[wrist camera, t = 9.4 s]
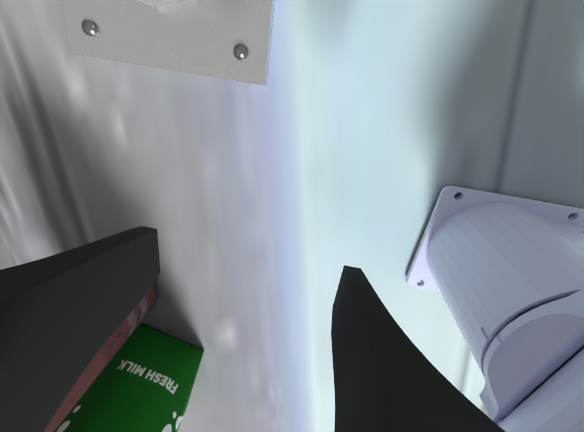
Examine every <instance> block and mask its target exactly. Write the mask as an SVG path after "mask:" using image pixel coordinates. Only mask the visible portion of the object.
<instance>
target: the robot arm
mask: <svg viewBox="0 0 584 432" xmlns="http://www.w3.org/2000/svg"><path fill="white" fill-rule="evenodd" d="M458 192H461V195H460V196H459V197H457V198H454V195H455V194H456V193H458ZM572 213H573V215H572V216H571V217H569V215H570V214H572ZM568 217H569V218H568ZM159 273H160V264H159V250H158V237H157V229H154V228H148V227H143V226H141V227H137V228H133V229H130V230H127V231H124V232H121V233H118V234H115V235H112V236H109V237H107V238H104V239H101V240H98V241H95V242H92V243H90V244H87V245H84V246H81V247H78V248H75V249H72V250H69V251H65V252H62V253H59V254H56V255H53V256H50V257H47V258H43V259H40V260H37V261H33V262H29V263H26V264H22V265H18V266H14V267H10V268H6V269H2V270H0V432H44V430H45V429H46V427H47V426H48V424H49V422H50V421H51V419H52V417H53V416H54V414H55V413H56V411H57V410H58V408H59V407H60V405H61V404H62V402H63V401H64V399H65V398H66V396H67V395H68V393H69V392H70V390H71V389H72V387H73V386H74V384H75V383H76V381H77V380H78V379H79V377H80V376H81V374H82V373H83V371H84V370H85V369H86V367H87V366H88V364H89V363H90V362H91V360H92V359H93V357H94V356H95V355H96V353H97V352H98V351H99V350H100V348H101V347H102V346H103V345H104V343H105V342H106V341H107V340H108V339H109V338H110V336H111V335H112V334H113V333H114V332H115V331H116V329H117V328H118V327H119V326H120V325H121V324H122V322H123V321H124V320H125V319H126V318H127V317H128V315H129V314H130V313H131V312H132V311H133V309H134V308H135V307H136V306H137V305H138V304H139V302H140V301H141V300H142V299H143V298H144V296H145V295H146V294H147V292H148V291H149V289H150V288H151V286H152V285H153V283H154V282H155V280H156V278H157V277H158V275H159ZM420 280H422V282H420V283H418V281H420ZM406 282H407V284H408V285H409V286H411V287H415V288H420V289H426V290H431V291H436V292H441V294H442V296H443V297H444V299H445V301H446V303H447V305H448V307H449V309H450V311H451V313H452V315H453V317H454V319H455V321H456V323H457V325H458V327H459V329H460V331H461V333H462V334H463V336H464V338H465V340H466V342H467V344H468V346H469V348H470V350H471V352H472V354H473V356H474V358H475V360H476V362H477V364H478V366H479V368H480V370H481V371H482V373H483V375H484V377H485V387H484V389H483V391H482V392H481V393H480V395H479V396H480V398H481V400H482V402H483V404H484V407H485V409H486V411H487V413H488V415H489V417H490V418H489V417H488V416H487V415H485V414H484V413H483V412H482V411H481V410H480V409H478V408H477V407H476V406H475V405H474V404H473V403H472V402H471V401H469V400H468V399H467V398H466V397H465V396H464V395H463V394H462V393H461V392H460V391H458V390H457V389H456V388H455V387H454V386H453V385H452V384H451V383H450V382H449V381H448V380H447V379H446V378H445V377H444V376H443V375H442V374H441V373H440V372H439V371H438V370H437V369H436V368H435V367H434V366H433V365H432V364H431V363H430V362H429V361H428V360H427V358H426V357H425V356H424V355H423V354H422V353H421V352H420V351H419V349H418V348H417V347H416V346H415V345H414V344H413V343H412V342H411V340H410V339H409V338H408V337H407V336H406V334H405V333H404V332H403V331H402V329H401V328H400V327H399V325H398V324H397V323H396V321H395V320H394V319H393V317H392V316H391V315H390V313H389V312H388V310H387V309H386V307H385V306H384V304H383V303H382V302H381V300H380V299H379V297H378V295H377V294H376V292H375V291H374V289H373V288H372V286H371V284H370V283H369V281H368V279H367V278H366V276H365V274H364V273H363V271H362V270H361V269H360V268H355V267H350V266H345V265H344V268H343V272H342V275H341V279H340V283H339V286H338V290H337V293H336V297H335V301H334V304H333V311H332V328H331V337H332V354H333V370H334V386H335V432H584V209H582V208H576V207H571V206H565V205H559V204H554V203H548V202H542V201H537V200H531V199H525V198H520V197H514V196H508V195H503V194H497V193H491V192H485V191H480V190H474V189H468V188H463V187H457V186H446V187H444V188H443V189H442V190H441V192H440V195H439V197H438V200H437V202H436V205H435V207H434V210H433V212H432V214H431V217H430V219H429V222H428V224H427V227H426V229H425V232H424V234H423V237H422V239H421V242H420V244H419V247H418V249H417V252H416V254H415V257H414V259H413V262H412V264H411V267H410V269H409V272H408V274H407V277H406Z"/></svg>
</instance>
